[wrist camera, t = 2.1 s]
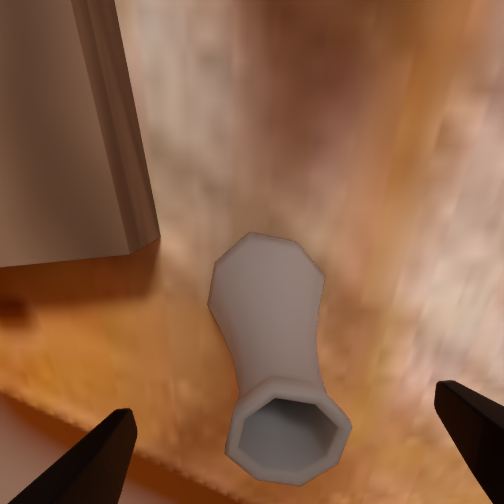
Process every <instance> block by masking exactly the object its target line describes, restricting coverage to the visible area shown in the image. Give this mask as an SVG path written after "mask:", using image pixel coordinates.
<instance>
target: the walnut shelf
mask: <svg viewBox="0 0 504 504" xmlns="http://www.w3.org/2000/svg"><path fill="white" fill-rule="evenodd" d="M160 237H161V236H160V231H159V226H158V221H157V215H156V210H155V205H154V200H153V195H152V190H151V185H150V180H149V175H148V170H147V165H146V160H145V155H144V150H143V144H142V139H141V134H140V129H139V124H138V119H137V114H136V109H135V104H134V99H133V94H132V89H131V84H130V79H129V73H128V68H127V63H126V58H125V53H124V48H123V43H122V38H121V33H120V28H119V23H118V18H117V13H116V7H115V2H114V0H0V267H8V266H18V265H29V264H39V263H49V262H59V261H69V260H79V259H89V258H100V257H110V256H120V255H130V254H132V253H133V252H135V251H137V250H139V249H140V248H142V247H144V246H146V245H147V244H149V243H151V242H153V241H154V240H156V239H158V238H160Z"/></svg>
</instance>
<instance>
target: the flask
mask: <svg viewBox="0 0 504 504" xmlns="http://www.w3.org/2000/svg"><path fill="white" fill-rule="evenodd" d="M324 279H325V275H324V274H323V272H322V271H321V270H320V269H319V268H318V267H317V265H316V264H315V263H314V262H313V261H312V259H311V258H310V257H309V256H308V255H307V254H306V252H305V251H304V250H303V249H302V248H301V246H300V245H299V244H298V243H297V242H296V241H291V240H286V239H281V238H276V237H271V236H267V235H262V234H257V233H252V232H249V233H248V234H247V235H246V236H245V237H244V238H242V239H241V240H240V241H239V242H238V243H237V244H236V245H234V246H233V247H232V248H231V249H230V250H229V251H227V252H226V253H225V254H224V255H223V256H222V257H221V258H219V259H218V260H217V261H216V262H215V265H214V270H213V276H212V281H211V287H210V292H209V298H208V303H207V304H208V307H209V309H210V311H211V313H212V315H213V316H214V318H215V320H216V322H217V324H218V326H219V327H220V330H221V332H222V334H223V336H224V339H225V341H226V343H227V345H228V347H229V350H230V352H231V354H232V356H233V361H234V366H235V372H236V378H237V383H238V389H239V396H238V400H237V401H236V404H235V407H234V411H233V415H232V419H231V423H230V427H229V431H228V436H227V440H226V444H225V454H226V455H227V456H228V457H229V458H230V459H232V460H233V461H234V462H235V463H236V464H238V465H239V466H240V467H241V468H242V469H244V470H245V471H246V472H247V473H248V474H250V475H251V476H252V477H253V478H254V479H256V480H260V481H267V482H273V483H280V484H287V485H294V486H303V485H304V484H306V483H307V482H309V481H311V480H312V479H314V478H315V477H317V476H319V475H320V474H322V473H324V472H325V471H327V470H328V469H330V468H332V467H333V466H335V465H337V464H338V462H339V460H340V457H341V455H342V452H343V450H344V447H345V445H346V442H347V440H348V437H349V435H350V432H351V430H352V425H351V422H350V419H349V418H348V417H347V415H346V414H345V413H344V411H343V410H342V409H341V408H340V407H339V406H338V405H337V404H336V403H335V402H334V401H333V400H332V399H331V398H330V397H329V396H328V394H327V392H326V389H325V386H324V383H323V380H322V377H321V374H320V371H319V362H318V354H317V345H316V332H317V323H318V315H319V307H320V301H321V296H322V290H323V285H324Z"/></svg>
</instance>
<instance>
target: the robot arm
mask: <svg viewBox="0 0 504 504" xmlns="http://www.w3.org/2000/svg"><path fill="white" fill-rule="evenodd" d="M434 407H435V410H436V412H437V414H438V416H439V418H440V419H441V421H442V423H443V424H444V426H445V428H446V430H447V431H448V433H449V435H450V436H451V438H452V440H453V441H454V443H455V445H456V447H457V448H458V450H459V452H460V453H461V455H462V457H463V458H464V460H465V462H466V464H467V465H468V467H469V469H470V470H471V472H472V473H473V475H474V477H475V478H476V480H477V481H478V482H479V484H480V485H481V487H482V488H483V490H484V491H485V493H486V494H487V496H488V497H489V499H490V500H491V501H492V503H493V504H504V406H502V405H500V404H498V403H496V402H494V401H492V400H490V399H489V398H487V397H485V396H483V395H481V394H479V393H477V392H475V391H473V390H471V389H469V388H467V387H466V386H464V385H462V384H460V383H458V382H456V381H453V380H446V381H439V382H437V384H436V390H435V399H434ZM136 439H137V426H136V423H135V419H134V415H133V412H132V410H131V409H130V408H123V409H117V410H115V411H113V412H112V413H111V414H110V415H109V416H108V417H106V418H105V419H104V420H103V421H102V422H101V423H100V424H98V425H97V426H96V427H95V428H94V429H93V430H92V431H90V432H89V433H88V434H87V435H86V436H85V437H84V438H82V439H81V440H80V441H79V442H78V443H77V444H75V445H74V446H73V447H72V448H71V449H70V450H69V451H67V452H66V453H65V454H64V455H63V456H62V457H61V458H59V459H58V460H57V461H56V462H55V463H54V464H53V465H51V466H50V467H49V468H48V469H47V470H46V471H45V472H43V473H42V474H41V475H40V476H39V477H38V478H37V479H35V480H34V481H33V482H32V483H31V484H30V485H28V486H27V487H26V488H25V489H24V490H23V491H22V492H21V493H19V494H18V495H17V496H16V497H15V498H13V500H11V501H10V502H9V503H8V504H118V501H119V498H120V495H121V491H122V487H123V484H124V481H125V477H126V474H127V470H128V467H129V463H130V460H131V456H132V453H133V449H134V446H135V442H136Z"/></svg>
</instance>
